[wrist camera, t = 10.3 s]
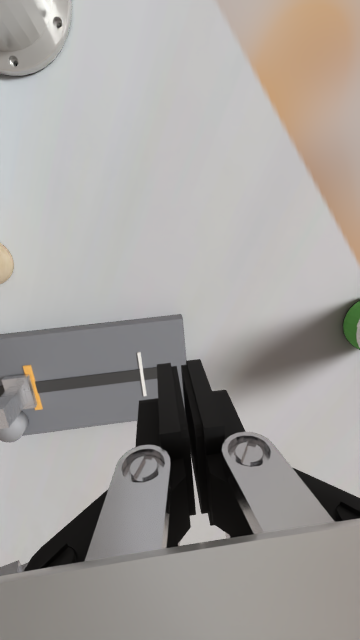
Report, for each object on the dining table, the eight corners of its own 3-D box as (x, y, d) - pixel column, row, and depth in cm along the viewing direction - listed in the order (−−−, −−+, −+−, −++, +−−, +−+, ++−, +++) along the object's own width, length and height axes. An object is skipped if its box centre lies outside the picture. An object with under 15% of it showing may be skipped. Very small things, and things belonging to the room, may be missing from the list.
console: (-23, 336, 37) (-43, 349, 33) (181, 314, 38) (184, 323, 35) (7, 428, 41) (-8, 449, 37) (189, 405, 43) (193, 422, 39)
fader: (4, 376, 36) (-22, 403, 31) (29, 373, 36) (7, 400, 31) (13, 407, 37) (-10, 438, 32) (37, 404, 38) (18, 434, 32)
